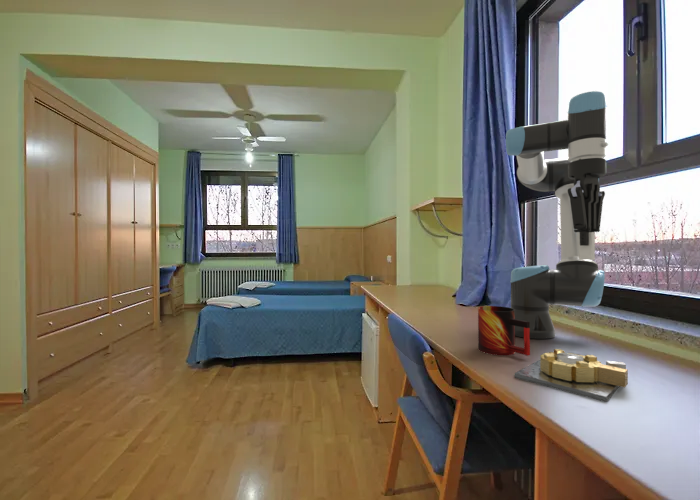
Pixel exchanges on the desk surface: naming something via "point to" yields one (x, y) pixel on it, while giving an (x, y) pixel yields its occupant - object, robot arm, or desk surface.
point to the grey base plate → (581, 388)
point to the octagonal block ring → (583, 370)
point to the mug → (500, 331)
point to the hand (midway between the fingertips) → (586, 259)
